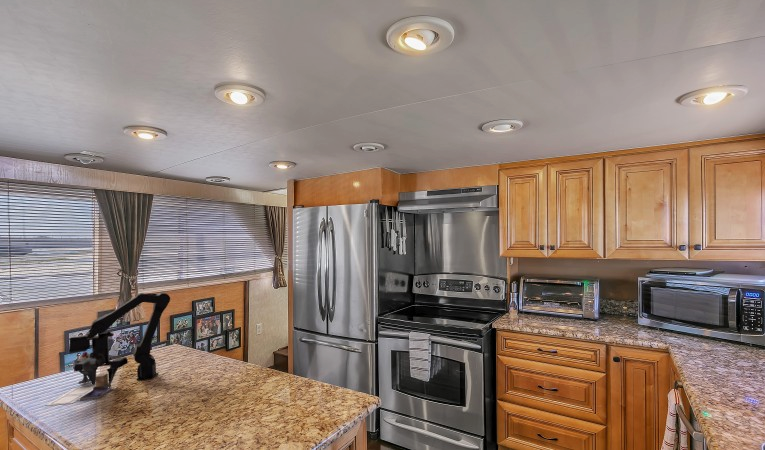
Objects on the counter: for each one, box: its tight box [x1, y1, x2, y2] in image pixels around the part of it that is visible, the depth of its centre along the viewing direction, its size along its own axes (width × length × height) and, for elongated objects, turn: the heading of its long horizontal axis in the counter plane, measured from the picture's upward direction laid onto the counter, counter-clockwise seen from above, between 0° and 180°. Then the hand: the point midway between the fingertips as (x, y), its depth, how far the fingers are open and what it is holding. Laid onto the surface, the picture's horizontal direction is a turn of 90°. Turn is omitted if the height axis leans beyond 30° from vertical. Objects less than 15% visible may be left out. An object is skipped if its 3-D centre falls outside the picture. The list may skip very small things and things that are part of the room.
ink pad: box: [79, 387, 112, 401], centre depth 151 cm, size 7×8×1 cm
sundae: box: [74, 351, 91, 384], centre depth 167 cm, size 7×7×15 cm
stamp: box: [93, 372, 112, 390], centre depth 158 cm, size 4×4×6 cm
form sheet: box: [44, 385, 96, 407], centre depth 152 cm, size 10×16×1 cm, turn 6°
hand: (102, 383), depth 158 cm, fingers open, 6 cm apart
